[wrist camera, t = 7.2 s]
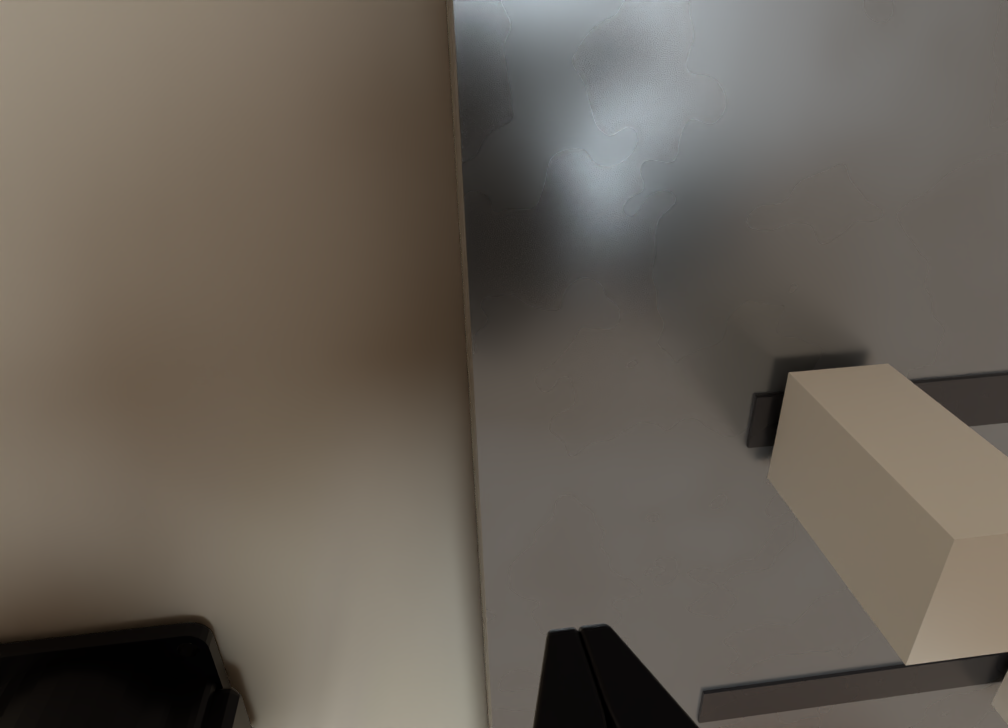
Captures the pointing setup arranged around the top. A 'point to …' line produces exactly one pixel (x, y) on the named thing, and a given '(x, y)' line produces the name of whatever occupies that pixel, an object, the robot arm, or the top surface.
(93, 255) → the top surface
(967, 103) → the switch panel
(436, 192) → the top surface
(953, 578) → the block
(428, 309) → the top surface
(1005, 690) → the block
